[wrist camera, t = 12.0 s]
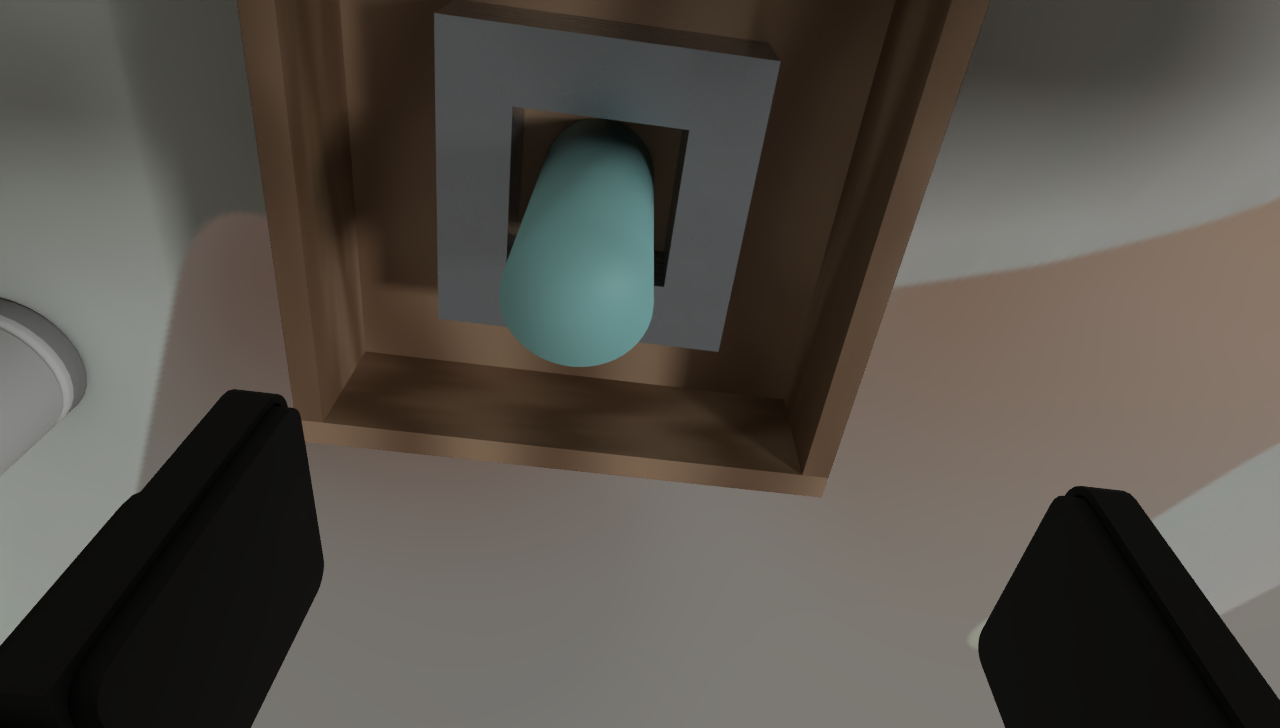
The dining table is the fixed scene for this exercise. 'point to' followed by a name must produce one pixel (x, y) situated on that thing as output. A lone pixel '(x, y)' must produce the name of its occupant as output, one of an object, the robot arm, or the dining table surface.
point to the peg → (585, 249)
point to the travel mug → (33, 379)
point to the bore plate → (609, 89)
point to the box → (767, 265)
